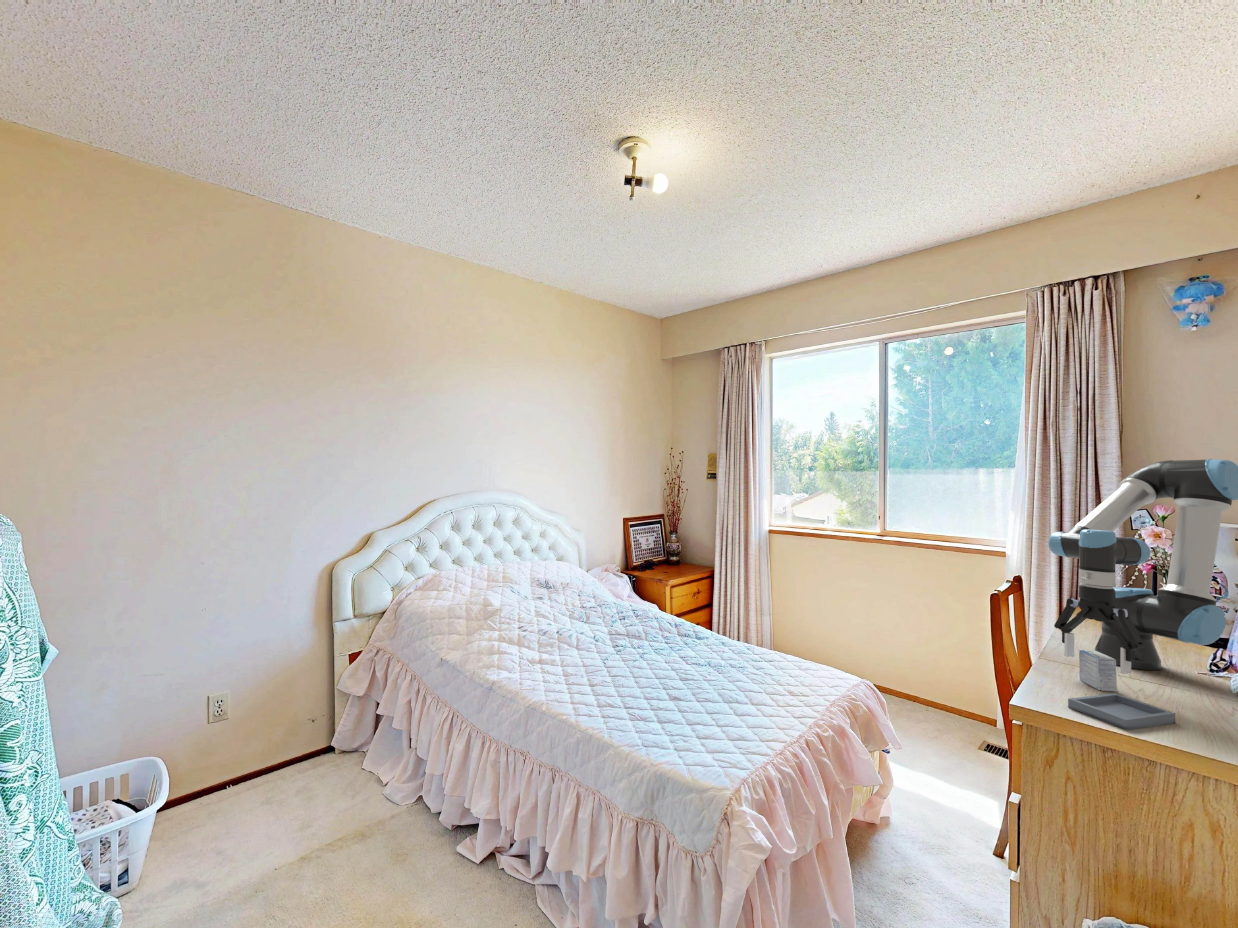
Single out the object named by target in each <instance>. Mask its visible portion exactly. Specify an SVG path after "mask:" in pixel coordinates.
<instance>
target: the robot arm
mask: <svg viewBox="0 0 1238 928" xmlns="http://www.w3.org/2000/svg"><path fill="white" fill-rule="evenodd" d="M1167 498H1171V499H1173V500H1172V501H1173V503H1174V504H1175V505H1177V507H1178V508H1179V509H1178V513H1177V514H1178V515H1177V521H1176V525H1175V526H1176V527H1175V530H1174V531H1175V533H1174V538H1173V543H1172V544H1173V545H1172V551H1171V556H1170V557H1171V558H1170V562H1169V569H1168V575H1167V581H1166V585H1164V586H1162V587H1160V588H1158V592H1157V595H1154V592H1153V590H1152V589H1150V588H1144V587H1143V588H1139V587H1116V582H1117V581H1116V580H1117V579H1116V578H1117V577H1116V573H1117V572H1116V565H1126V566H1127V565H1128V566H1134V565H1141V564H1144V563H1146V562H1147V561H1148V560H1149V559H1150V557H1151V548H1150V546H1149V545H1148V544H1147V543H1146V542H1145V541H1144V540H1142V539H1140V538H1134V537H1129V536H1128V537H1127V536H1126V537H1122V536H1121V537H1120V536H1117V535H1116V533H1115V530H1116V529H1118V528H1119V527H1120V526H1121V525H1123V523H1125V522H1126V521H1127V520H1128V519H1129V518H1130V517H1131V516H1133V515H1134V514H1135V513H1136V512H1137V511H1139V510H1140V508H1141V507H1143V506H1145V505H1150V504H1152V503H1154V501H1156V500H1158V499H1167ZM1237 500H1238V464H1237V463H1235V462H1233V461H1231V460H1229V459H1213V458H1207V459H1184V460H1183V459H1182V460H1181V459H1180V460H1178V459H1177V460H1161V461H1157V462H1154V463H1150V464H1147V465H1146V466H1142V467H1140V468H1139V469H1137V470H1135V471H1134V472H1132V473H1130V474H1128V475H1127V476H1126V477H1124V478H1123V479H1122V480H1121V481H1120V482H1119V483H1118V485H1117V489H1116V490H1115V491H1114V492H1112V493H1111V494H1110V495H1109V496H1108V497H1107V498H1106V499H1104V500H1103V501H1102V502H1101V503H1100V504H1098V505H1097V506H1096V507H1095V508H1094V509H1092V511H1090V512H1089V513H1088V514H1087V515H1086V516H1084V517H1083V518H1082V519H1081V520H1079V522H1077V523H1076V524H1075V525H1074V526H1072V528H1071V529H1069V530H1068V531H1056V532H1053V533H1052V534H1051V535H1050V536H1049V538H1048V542H1047V543H1048V548H1049V550H1050V552H1051V553H1052V554H1054V555H1055V556H1060V557H1064V558H1068V559H1069V558H1070V559H1071V558H1072V559H1079V560H1078V561H1079V564H1078V583H1080V584H1079V585H1078V597H1079V600H1078V599H1076V598H1067V599H1066V604H1065V607H1064V609H1063V610H1062V611H1061V614H1060V615H1059V617H1058V618H1057V619H1056V621H1055V623H1054V628H1055V629H1059V631H1060V632H1061V643H1062V644H1064V652H1063V653H1064V657H1066V658H1067V657H1069V658H1070V657H1075V632H1074V629H1076V628H1077V627H1078V626H1079V625H1081V624H1082V623H1083V622H1084V621H1086V620H1087V619H1088V620H1094V621H1097V622H1101V634H1100V635H1099V638H1098V641H1097V643H1096V645H1095V648H1094V651H1098V652H1100V653H1102V654H1105V655H1107V656H1109V657H1111V658H1113V659H1115V660H1116V666H1119V667H1120V669H1119V670H1120V671H1119V672H1120V673H1121V674H1127V675H1128V674H1132V669H1134V670H1135V669H1136V670H1145V671H1146V670H1147V671H1158V670H1161V669H1162V660H1161V658H1160V655H1159V652H1158V650H1157V648H1156V646H1155V643H1154V636H1158V637H1163V638H1166V639H1171V640H1176V641H1179V642H1183V643H1185V644H1194V645H1199V646H1208V645H1211V644H1213V643H1215V642H1216V641H1218V640H1219V639H1220V638H1221V636H1222V635H1223V634H1224V631H1225V629H1226V624H1227V618H1226V614H1225V611H1224V610H1223V609H1222V607H1219V606H1218V605H1217V599H1215V597H1214V596H1213V595H1212V594H1211V592H1210V591H1211V585H1212V579H1213V573H1214V565H1215V561H1216V554H1217V549H1218V548H1217V547H1218V542H1219V541H1218V539H1219V534H1220V529H1221V521H1222V517H1223V516H1222V515H1223V513H1224V512H1225V511H1228V510H1230V509H1231V507H1232V505H1233V504H1232V503H1233V501H1237ZM1078 607H1079V609H1080V611H1078V612H1077V613H1076V614H1075V616H1074V617H1072V616H1073V614H1074V613H1075V611H1076V609H1077V608H1078ZM1071 618H1072V619H1071ZM1070 619H1071V620H1070Z"/></svg>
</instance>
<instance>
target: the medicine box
mask: <svg viewBox="0 0 1238 928" xmlns="http://www.w3.org/2000/svg"><path fill="white" fill-rule="evenodd" d="M1078 654H1079V655H1078V657H1079V658H1078V659H1079V661H1078V662H1079V664H1078V665H1079V666H1078V667H1079V672H1078V673H1079V680H1080V681H1081V682H1083V683H1084V684H1086V685H1088V686H1090V687H1092V688H1093V689H1095V690H1098V691H1100V690H1101V691H1102V692H1110V691H1114V692H1113V693H1116V692H1118V687H1117V685H1118V684H1117V681H1118V679H1117V665H1116V660H1115V659H1113V658H1111V657H1109V656H1107V655H1105V654H1102V653H1100V652H1098V651H1095V650H1089V649H1079V652H1078ZM1101 691H1100V692H1101Z"/></svg>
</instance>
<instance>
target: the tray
mask: <svg viewBox="0 0 1238 928" xmlns="http://www.w3.org/2000/svg"><path fill="white" fill-rule="evenodd" d="M1067 701H1068V702H1067V704H1068V705H1067V706H1068V707H1069V709H1070V708H1071V710H1073V709H1074V711H1076V712H1078V711H1080V712H1079V713H1081V712H1082V713H1081V714H1083V713H1085V714H1084V715H1086V714H1087V715H1086V716H1089V715H1090V716H1089V717H1091V718H1094V717H1095V718H1094V719H1096V718H1097V720H1099V719H1100V720H1099V721H1102V722H1105V723H1107V724H1109V725H1113V726H1115V727H1118V728H1120V729H1123V730H1125V731H1128V730H1137V729H1142V728H1143V729H1144V728H1150V727H1158V726H1164V725H1171V724H1176V723H1177V722H1176V713H1175V712H1173V711H1169V710H1166V709H1163V708H1161V707H1157V706H1155V705H1152V704H1149V703H1145V702H1142V701H1140V700H1137V699H1133V698H1131V697H1128V696H1124V695H1122V694H1118V693H1116V692H1112V693H1105V694H1104V693H1103V694H1096V695H1088V696H1080V697H1070V698H1068V699H1067ZM1068 707H1067V708H1068Z"/></svg>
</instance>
